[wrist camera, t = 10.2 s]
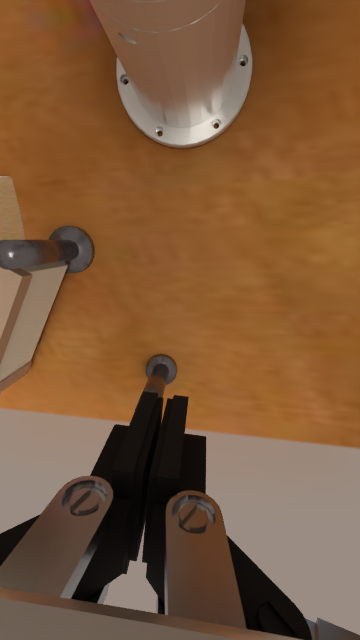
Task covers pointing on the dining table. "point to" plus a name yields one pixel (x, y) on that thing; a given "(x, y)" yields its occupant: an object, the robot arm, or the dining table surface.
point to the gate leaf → (24, 315)
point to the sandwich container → (9, 211)
